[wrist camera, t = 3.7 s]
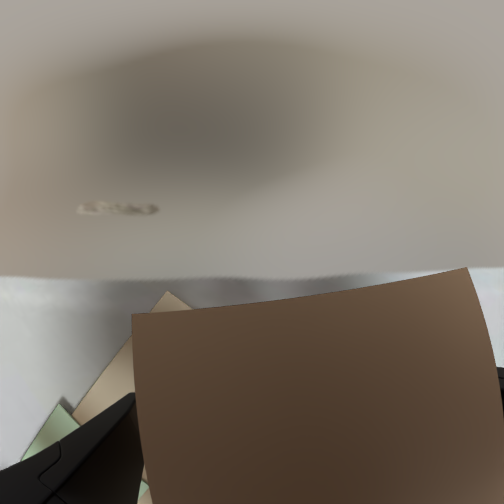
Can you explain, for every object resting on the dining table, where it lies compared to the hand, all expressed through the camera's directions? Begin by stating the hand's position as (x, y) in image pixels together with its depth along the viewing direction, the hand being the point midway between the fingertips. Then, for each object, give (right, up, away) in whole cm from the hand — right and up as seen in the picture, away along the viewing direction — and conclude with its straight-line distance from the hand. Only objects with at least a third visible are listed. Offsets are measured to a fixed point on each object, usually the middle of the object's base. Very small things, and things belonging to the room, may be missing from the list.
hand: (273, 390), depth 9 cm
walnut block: (0, -4, +5) cm, 7 cm away
